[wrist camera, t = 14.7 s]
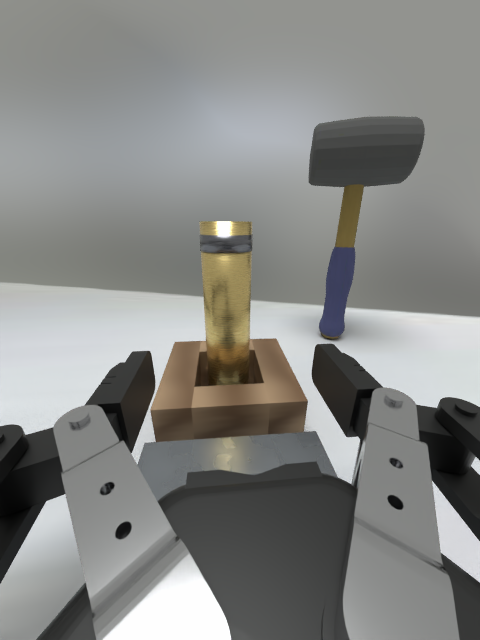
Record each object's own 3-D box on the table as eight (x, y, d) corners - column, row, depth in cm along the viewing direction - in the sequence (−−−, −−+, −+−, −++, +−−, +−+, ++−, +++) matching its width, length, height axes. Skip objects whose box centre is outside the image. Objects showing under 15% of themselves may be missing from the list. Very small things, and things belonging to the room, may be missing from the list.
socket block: (65, 828, 8) (23, 808, 6) (152, 482, 18) (144, 442, 16) (418, 761, 9) (456, 729, 7) (309, 469, 19) (315, 431, 17)
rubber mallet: (362, 330, 43) (407, 126, 32) (376, 350, 36) (438, 100, 25) (292, 324, 45) (311, 132, 34) (293, 342, 39) (316, 109, 27)
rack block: (158, 457, 20) (150, 410, 18) (178, 377, 30) (174, 342, 28) (301, 447, 21) (307, 401, 19) (273, 373, 31) (276, 338, 29)
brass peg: (208, 423, 23) (196, 221, 16) (209, 395, 27) (200, 221, 20) (250, 420, 23) (256, 221, 17) (246, 393, 27) (249, 221, 20)
